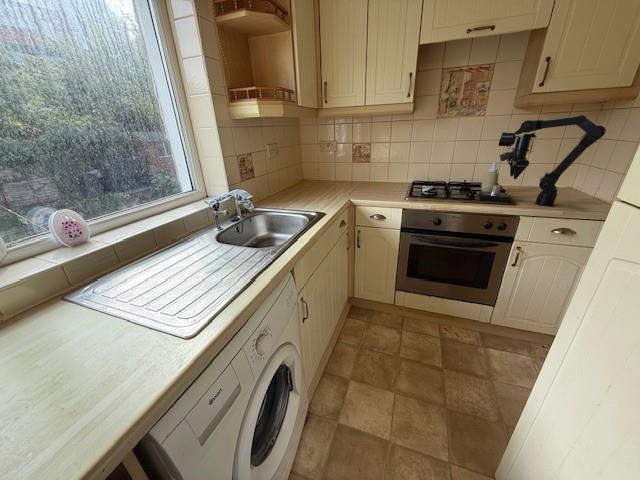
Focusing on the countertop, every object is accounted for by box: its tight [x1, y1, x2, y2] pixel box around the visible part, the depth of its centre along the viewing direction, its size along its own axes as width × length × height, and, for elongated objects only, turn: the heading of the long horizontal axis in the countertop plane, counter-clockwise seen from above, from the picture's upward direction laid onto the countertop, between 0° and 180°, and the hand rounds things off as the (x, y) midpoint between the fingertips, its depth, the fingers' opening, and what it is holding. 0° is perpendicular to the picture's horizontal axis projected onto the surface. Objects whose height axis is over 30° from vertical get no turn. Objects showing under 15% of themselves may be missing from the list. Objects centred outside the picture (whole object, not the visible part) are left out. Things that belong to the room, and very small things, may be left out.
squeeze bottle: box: [480, 161, 500, 192], centre depth 155 cm, size 8×8×18 cm
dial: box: [490, 184, 502, 195], centre depth 144 cm, size 4×4×5 cm
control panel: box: [478, 190, 511, 204], centre depth 145 cm, size 13×10×3 cm
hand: (512, 177), depth 140 cm, fingers open, 9 cm apart
